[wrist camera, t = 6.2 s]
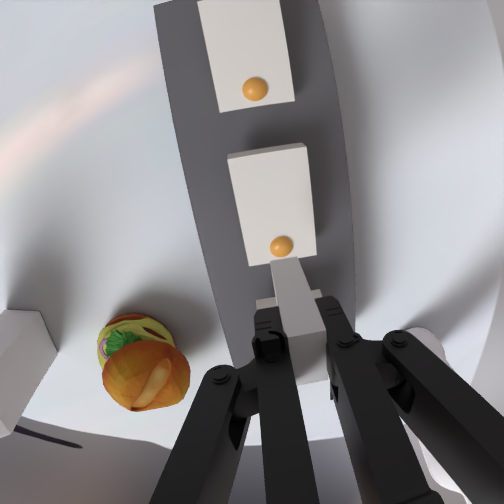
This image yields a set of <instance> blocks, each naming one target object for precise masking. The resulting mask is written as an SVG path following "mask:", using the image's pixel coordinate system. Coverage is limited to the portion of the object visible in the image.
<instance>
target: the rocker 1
mask: <svg viewBox="0 0 504 504" xmlns="http://www.w3.org/2000/svg"><path fill="white" fill-rule="evenodd" d="M197 4H198V9H199V13H200V18H201V23H202V28H203V33H204V38H205V43H206V48H207V53H208V57H209V62H210V67H211V72H212V77H213V82H214V87H215V91H216V96H217V101H218V106H219V111H220V113H222V112H227V111H233V110H238V109H244V108H250V107H256V106H263V105H269V104H277V103H284V102H292V101H295V98H294V90H293V83H292V76H291V69H290V62H289V56H288V49H287V43H286V37H285V31H284V25H283V19H282V14H281V8H280V3H279V0H202V1H198V2H197Z"/></svg>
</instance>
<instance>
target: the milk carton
mask: <svg viewBox="0 0 504 504" xmlns="http://www.w3.org/2000/svg"><path fill="white" fill-rule="evenodd" d="M57 355H58V353H57V351H56V348H55V346H54V344H53V342H52V340H51V337H50V335H49V333H48V330H47V328H46V326H45V323H44V321H43V318H42V316H41V314H40V312H39V311H22V310H4V311H3V312H2V313H1V314H0V438H2V437H5V436H7V435H10V434H11V433H12V431H13V429H14V428H15V426H16V423H17V422H18V420H19V418H20V416H21V415H22V413H23V411H24V409H25V408H26V406H27V404H28V402H29V401H30V399H31V397H32V395H33V394H34V392H35V390H36V389H37V387H38V385H39V384H40V382H41V380H42V379H43V377H44V375H45V374H46V372H47V371H48V369H49V367H50V366H51V364H52V363H53V361H54V360H55V358H56V356H57Z"/></svg>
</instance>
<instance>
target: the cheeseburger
mask: <svg viewBox="0 0 504 504" xmlns="http://www.w3.org/2000/svg"><path fill="white" fill-rule="evenodd" d="M97 344H98V349H97V353H98V359H99V363H100V365H101V367H102V370H103V372H102V378H103V385H104V387H105V389H106V391H107V392H108V393H109V394H110V395H111V397H112V398H113V399H114V400H115V401H116V402H117V403H118V404H120V405H121V406H123V407H125V408H126V409H128V410H130V411H135V412H139V411H146V410H151V409H157V408H162V407H168V406H171V405H174V404H177V403H179V402H180V401H181V400H182V399H183V398H184V396H185V394H186V392H187V390H188V388H189V386H190V372H191V371H190V366H189V363H188V361H187V359H186V357H185V356H184V355H183V354H182V353H181V352H180V351H179V350H178V349H177V347H176V344H175V341H174V338H173V336H172V335H171V333H170V332H169V331H168V330H167V329H166V327H165V326H164V325H163V324H161V323H160V322H158V321H156V320H155V319H153V318H152V317H150V316H146V315H141V314H136V313H132V314H126V315H121V316H118V317H117V318H115V319H113V320H112V321H110V322H109V323H108V324H107V325H106V327H105V328H103V329H102V330H101V332H100V334H99V337H98V340H97Z"/></svg>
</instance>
